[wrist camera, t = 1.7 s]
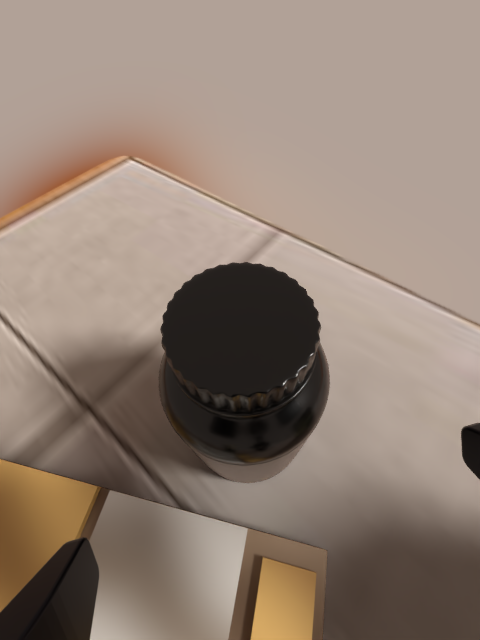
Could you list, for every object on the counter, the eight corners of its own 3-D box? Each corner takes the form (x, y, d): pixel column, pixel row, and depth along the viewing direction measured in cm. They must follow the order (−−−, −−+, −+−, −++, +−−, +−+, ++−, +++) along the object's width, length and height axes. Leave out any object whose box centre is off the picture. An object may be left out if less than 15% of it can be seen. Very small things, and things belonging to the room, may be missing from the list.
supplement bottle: (185, 387, 20) (121, 258, 10) (281, 363, 21) (307, 222, 11) (202, 502, 17) (130, 471, 7) (319, 468, 17) (409, 395, 7)
